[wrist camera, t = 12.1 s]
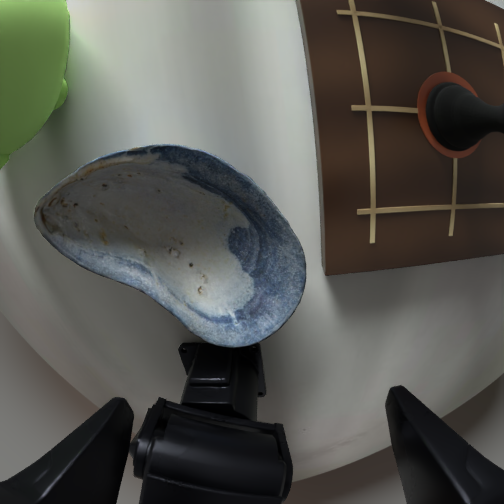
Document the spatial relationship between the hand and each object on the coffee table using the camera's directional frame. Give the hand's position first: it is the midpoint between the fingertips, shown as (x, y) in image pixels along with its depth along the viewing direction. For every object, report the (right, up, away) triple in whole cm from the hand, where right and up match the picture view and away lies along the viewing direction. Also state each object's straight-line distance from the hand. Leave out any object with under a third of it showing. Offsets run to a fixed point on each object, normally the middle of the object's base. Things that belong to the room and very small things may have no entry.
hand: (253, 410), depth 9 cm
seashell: (-5, +6, +11) cm, 13 cm away
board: (+12, +14, +6) cm, 20 cm away
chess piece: (+12, +13, +5) cm, 19 cm away
